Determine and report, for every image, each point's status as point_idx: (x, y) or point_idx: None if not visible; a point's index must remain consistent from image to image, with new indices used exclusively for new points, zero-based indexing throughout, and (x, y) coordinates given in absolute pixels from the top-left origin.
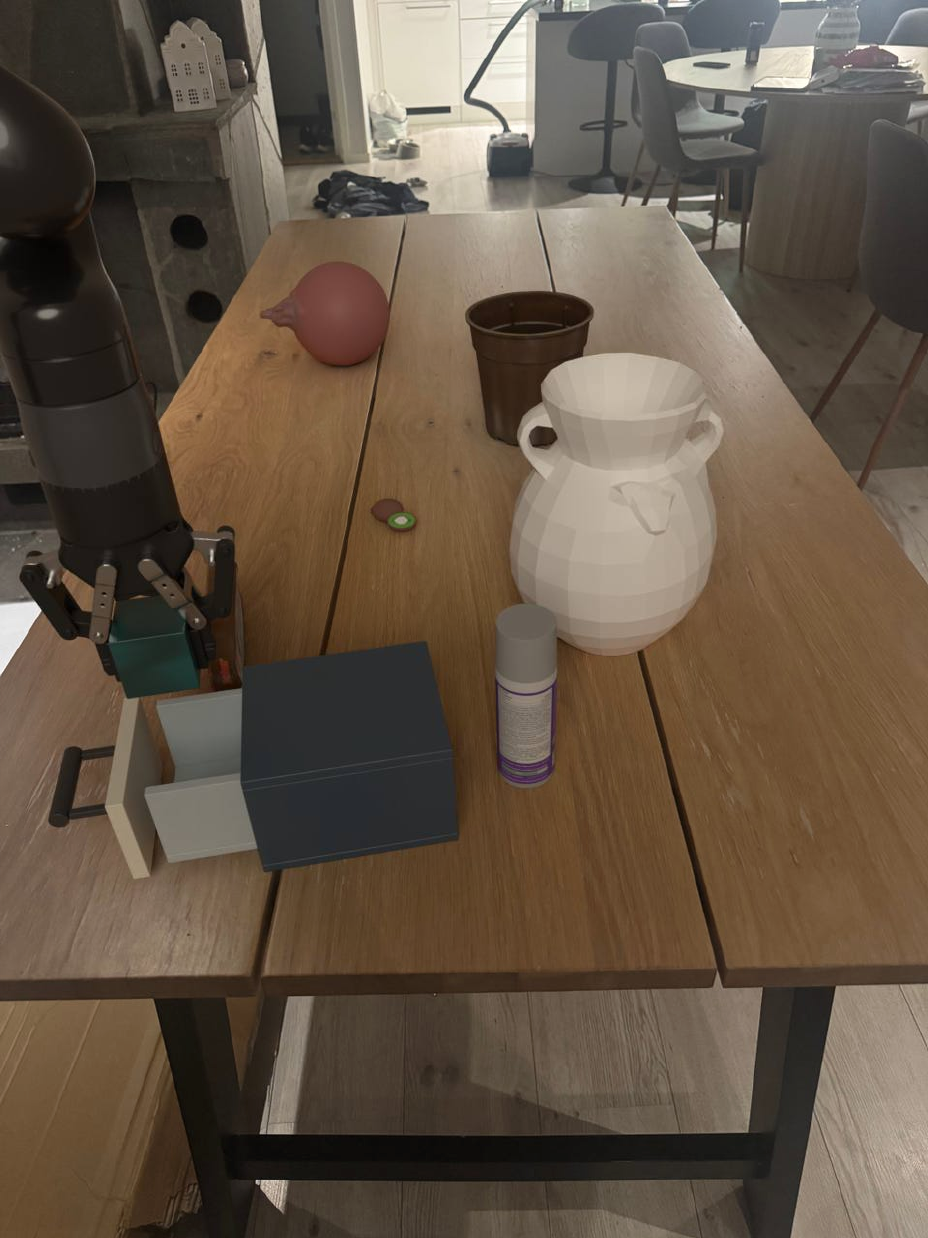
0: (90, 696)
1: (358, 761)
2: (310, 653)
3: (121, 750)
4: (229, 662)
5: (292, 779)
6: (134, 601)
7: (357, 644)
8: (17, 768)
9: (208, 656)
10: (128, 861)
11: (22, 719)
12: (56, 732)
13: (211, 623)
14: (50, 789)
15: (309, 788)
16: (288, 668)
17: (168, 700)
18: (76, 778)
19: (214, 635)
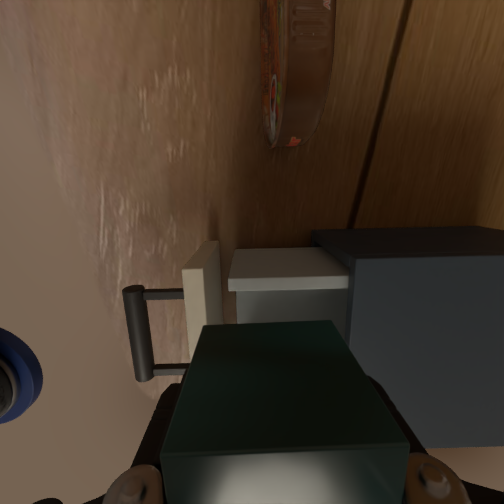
0: (113, 93)
1: (468, 444)
2: (376, 60)
3: None
4: (302, 140)
5: None
6: (228, 472)
7: (437, 54)
8: (71, 202)
9: None
10: None
11: (45, 121)
12: (93, 153)
13: (413, 435)
14: (114, 238)
15: None
16: (422, 277)
17: (243, 282)
18: (147, 329)
19: (391, 401)
